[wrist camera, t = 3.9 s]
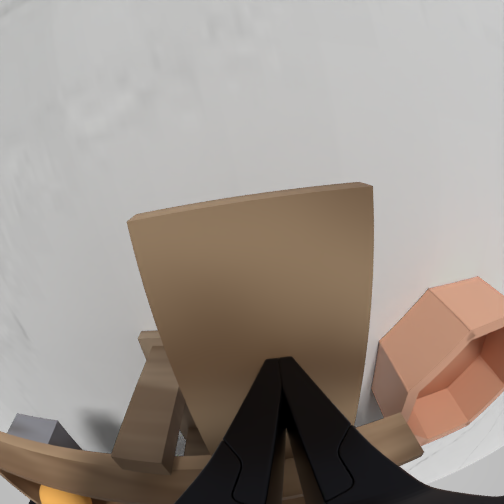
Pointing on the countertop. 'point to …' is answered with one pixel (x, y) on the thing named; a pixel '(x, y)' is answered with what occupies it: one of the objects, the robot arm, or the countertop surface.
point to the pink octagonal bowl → (443, 359)
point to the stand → (156, 416)
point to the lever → (235, 331)
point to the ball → (61, 497)
